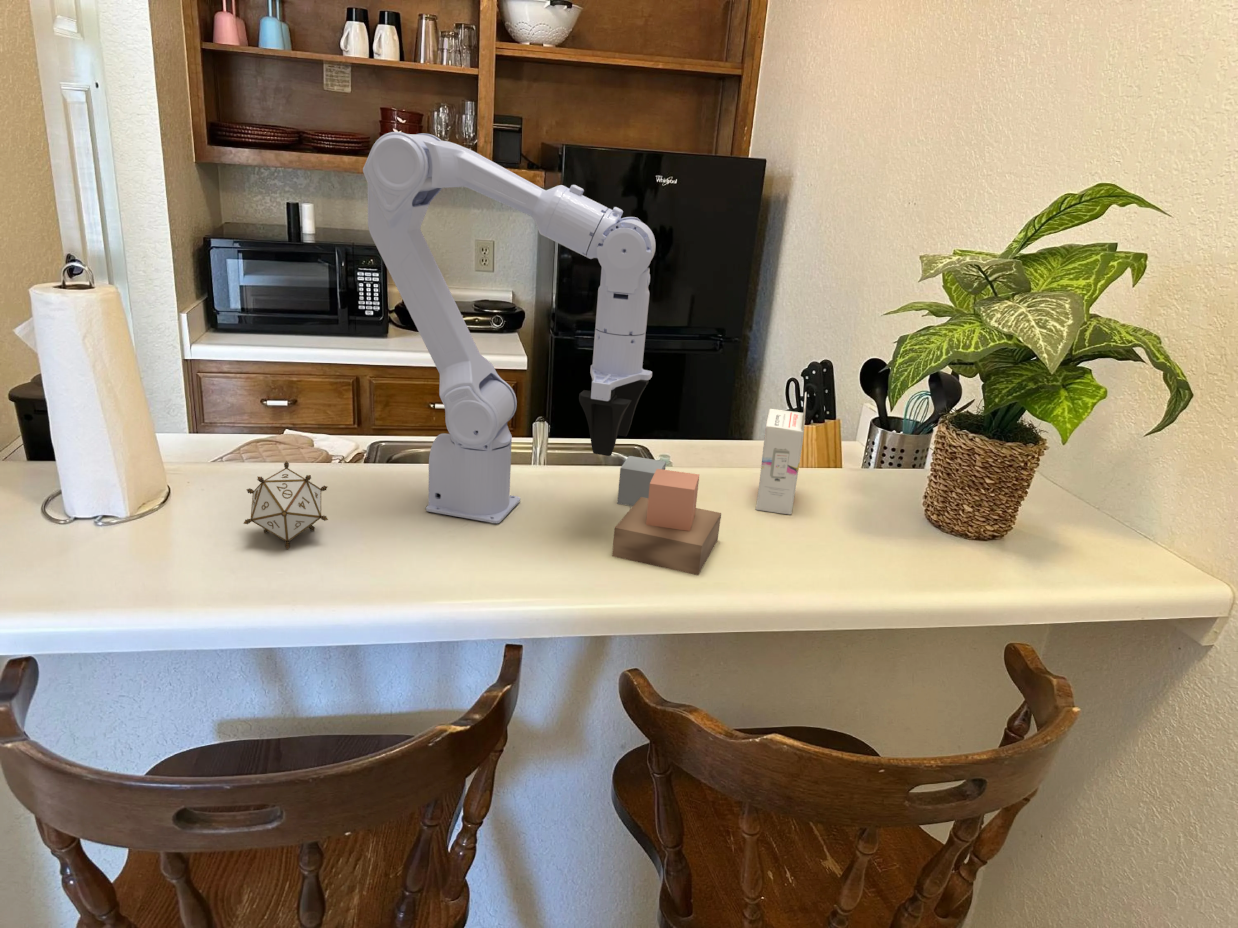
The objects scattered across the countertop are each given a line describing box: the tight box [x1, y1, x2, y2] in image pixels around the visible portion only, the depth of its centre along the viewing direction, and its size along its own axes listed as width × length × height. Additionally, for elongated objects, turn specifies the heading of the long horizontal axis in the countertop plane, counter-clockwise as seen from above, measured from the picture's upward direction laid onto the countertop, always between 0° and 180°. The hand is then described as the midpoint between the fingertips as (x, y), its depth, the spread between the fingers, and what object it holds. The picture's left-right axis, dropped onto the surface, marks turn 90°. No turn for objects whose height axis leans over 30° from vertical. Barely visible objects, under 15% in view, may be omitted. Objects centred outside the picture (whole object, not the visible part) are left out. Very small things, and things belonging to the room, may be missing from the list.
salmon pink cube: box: [646, 469, 700, 531], centre depth 100 cm, size 5×5×5 cm
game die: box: [242, 460, 329, 550], centre depth 95 cm, size 9×8×10 cm
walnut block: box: [611, 497, 722, 576], centre depth 101 cm, size 10×10×4 cm
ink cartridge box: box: [755, 391, 808, 515], centre depth 115 cm, size 9×5×15 cm, turn 168°
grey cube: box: [617, 455, 667, 507], centre depth 114 cm, size 5×5×5 cm
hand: (610, 444), depth 103 cm, fingers open, 7 cm apart
